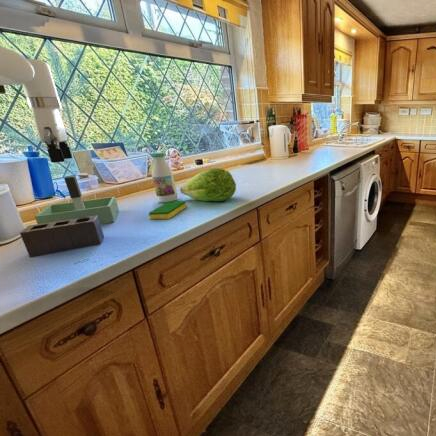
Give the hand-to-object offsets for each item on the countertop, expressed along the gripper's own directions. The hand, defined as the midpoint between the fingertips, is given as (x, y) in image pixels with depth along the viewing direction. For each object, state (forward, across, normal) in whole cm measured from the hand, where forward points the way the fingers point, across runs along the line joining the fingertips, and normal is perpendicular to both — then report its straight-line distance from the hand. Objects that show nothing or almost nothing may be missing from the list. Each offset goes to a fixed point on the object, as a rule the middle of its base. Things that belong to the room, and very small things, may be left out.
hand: (62, 160), depth 98 cm
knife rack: (+22, +24, +2) cm, 33 cm away
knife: (+21, 0, +1) cm, 21 cm away
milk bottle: (+21, -14, +28) cm, 37 cm away
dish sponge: (+21, +6, +28) cm, 35 cm away
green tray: (+21, 0, 0) cm, 21 cm away
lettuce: (+21, -4, +42) cm, 48 cm away
